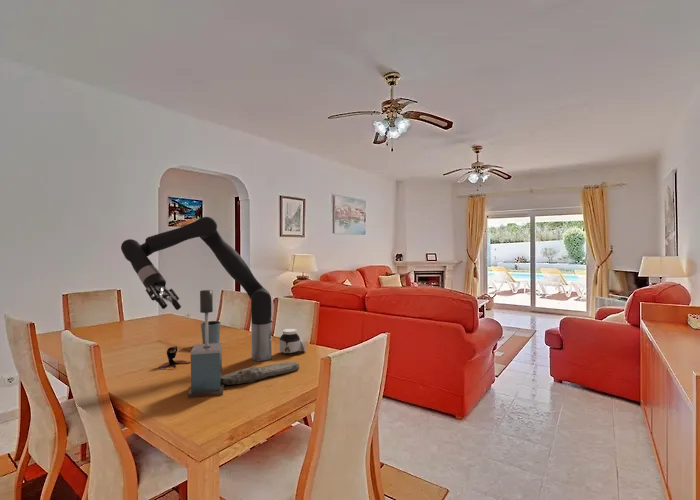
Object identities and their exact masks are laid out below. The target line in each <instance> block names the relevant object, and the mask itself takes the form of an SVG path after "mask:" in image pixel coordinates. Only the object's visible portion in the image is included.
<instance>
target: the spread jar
mask: <svg viewBox="0 0 700 500" xmlns="http://www.w3.org/2000/svg"><path fill="white" fill-rule="evenodd" d="M297 331H298V330H297V329H296V328H285V329H283V330H282V334H281V336H280V337H279V340H278V341H279V343H278V344H279V345H278V346H279V351H280V353H281V354H282V355H284V354H285V356H294V355H296V354H298V353H299V352H300V351H301V350H302V351H301V352H303V351H304V352H306V351H307V344H306V342H305V341H304V339H302V338H300V335H298V333H297ZM293 354H294V355H293Z"/></svg>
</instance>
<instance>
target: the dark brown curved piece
mask: <svg viewBox="0 0 700 500" xmlns="http://www.w3.org/2000/svg"><path fill="white" fill-rule="evenodd" d="M177 352H178V346H177V345H174V346H170V347H168V348H167V350H166V356H167V359H168V362H164V363H163V364H161V365H159V366H158V367H157V369H161V370H163V371H164V370H167V369H168V371H169V370H171V369H175V368H176V367H177V365H176V364H188V363H190V360H188V361H187V360H183V359H182V360H181V359H180V360H174V359H175V358H176V356H177Z"/></svg>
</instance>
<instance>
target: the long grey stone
mask: <svg viewBox="0 0 700 500" xmlns="http://www.w3.org/2000/svg"><path fill="white" fill-rule="evenodd" d="M299 369H300V365H299V362H298V361H290V362H289V361H285V362H281V363H275V364H269V365H265V366H254V365H253V366H250V367H247V368H246V367H245V368H242V369H238V370H236V371H233V372H232V371H231V372H230V373H227V374H224V375H223V374H222V379H221V380H222V381H221V382H222V383H224V384H225V385H238V384H239V385H241V384H246V383H253V382H255V381H258V380H262V379H266V378H268V377H273V376H274V377H275V376H278V375H281V374H289V373H292V372H295V371H298V370H299Z"/></svg>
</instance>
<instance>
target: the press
mask: <svg viewBox="0 0 700 500" xmlns="http://www.w3.org/2000/svg"><path fill="white" fill-rule="evenodd" d="M222 345H223V344H222V342H220V343H212V344H208V346H209V348H205V344H203V343H201V344H200V343H197V344H194V345H193V347H192V348H191V351H190V386H189V389H188V393H187V398H188V399H191V398H192V399H194V398H203V397H204V398H206V397H215V396H223V395H224V388H225V385H226V384H224V383H222V382H221V381H222V380H221V379H222V376H223V357H222V356H223V351H222V350H223V347H222Z"/></svg>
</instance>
